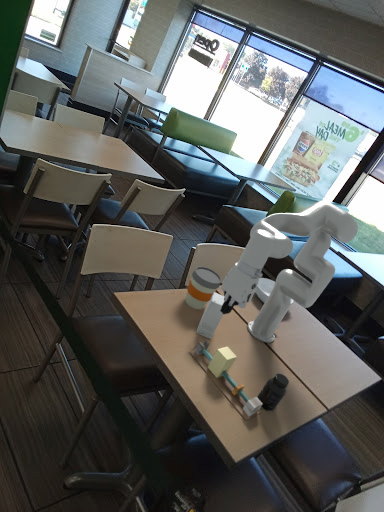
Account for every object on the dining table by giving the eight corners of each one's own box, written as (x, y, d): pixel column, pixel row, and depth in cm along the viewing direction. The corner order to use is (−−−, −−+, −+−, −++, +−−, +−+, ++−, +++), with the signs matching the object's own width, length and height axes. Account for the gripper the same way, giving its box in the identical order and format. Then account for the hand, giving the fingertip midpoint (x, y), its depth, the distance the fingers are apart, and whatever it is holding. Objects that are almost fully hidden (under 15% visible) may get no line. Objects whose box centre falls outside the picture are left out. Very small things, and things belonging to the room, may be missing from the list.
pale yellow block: (217, 364, 137) (227, 346, 133) (226, 374, 134) (236, 356, 130) (207, 367, 133) (217, 349, 130) (216, 377, 130) (227, 359, 127)
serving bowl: (272, 317, 184) (279, 306, 181) (242, 290, 196) (248, 279, 193) (294, 310, 199) (301, 300, 196) (265, 286, 211) (271, 276, 208)
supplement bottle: (254, 393, 133) (270, 368, 128) (271, 397, 134) (288, 373, 129) (258, 409, 127) (276, 384, 122) (277, 413, 128) (294, 389, 123)
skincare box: (210, 340, 149) (227, 308, 142) (194, 332, 149) (211, 301, 142) (213, 328, 156) (229, 298, 150) (198, 321, 157) (214, 290, 150)
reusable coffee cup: (199, 315, 160) (213, 287, 154) (175, 298, 164) (189, 269, 158) (212, 306, 171) (227, 279, 165) (190, 290, 175) (203, 263, 169)
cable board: (204, 348, 143) (209, 338, 141) (260, 412, 126) (267, 402, 124) (189, 352, 137) (194, 342, 136) (245, 420, 120) (252, 410, 118)
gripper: (272, 280, 119) (246, 325, 127) (240, 253, 128) (217, 297, 135) (258, 282, 114) (231, 329, 122) (225, 253, 123) (202, 299, 130)
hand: (224, 312), depth 128 cm, fingers closed
